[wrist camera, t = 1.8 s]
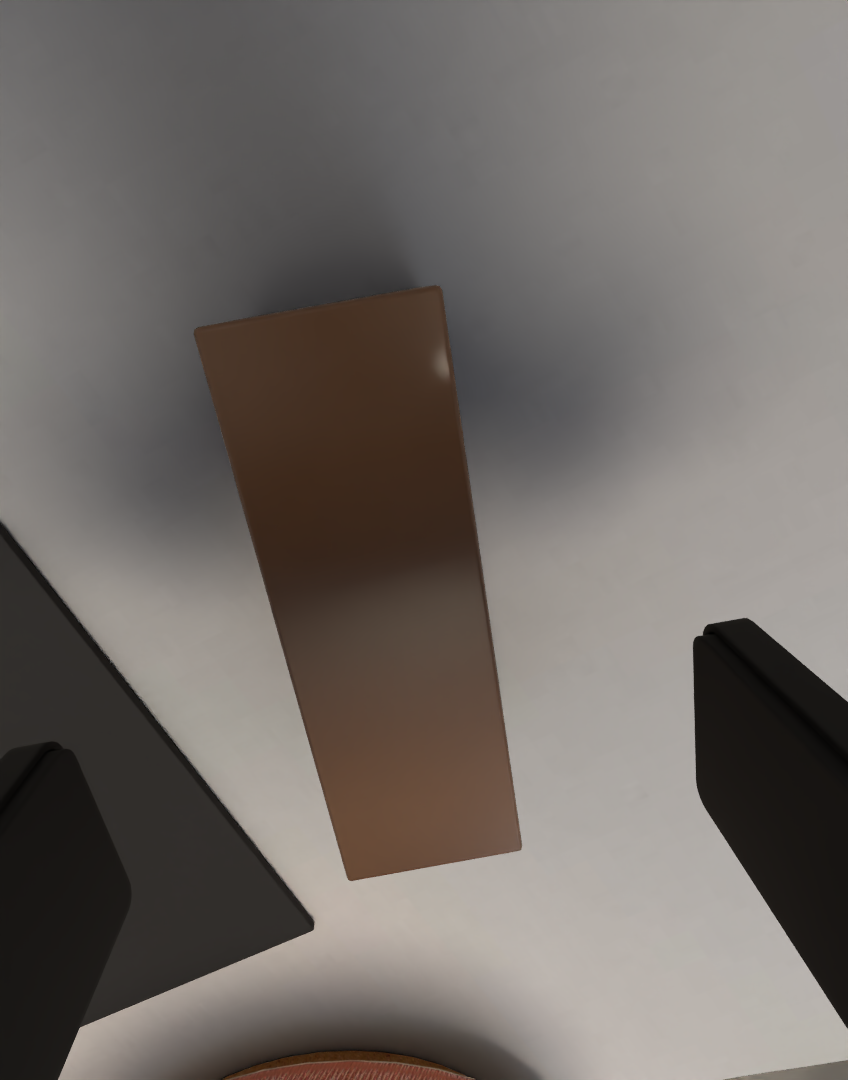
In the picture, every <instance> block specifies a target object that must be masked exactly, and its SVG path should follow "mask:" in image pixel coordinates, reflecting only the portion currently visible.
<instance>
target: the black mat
mask: <svg viewBox="0 0 848 1080" xmlns="http://www.w3.org/2000/svg"><path fill="white" fill-rule="evenodd" d="M50 741H54V742H58V743H59V744H60V745H61V746H62V747H63V749H70V750H71V751H72V752H74V754H75V756H76V758H77V760H78V762H79V765H80V767H81V769H82V772H83V774H84V776H85V779H86V781H87V783H88V785H89V788H90V790H91V792H92V795H93V797H94V799H95V802H96V804H97V806H98V809H99V811H100V813H101V816H102V818H103V820H104V823H105V825H106V827H107V829H108V832H109V834H110V836H111V839H112V841H113V843H114V846H115V848H116V850H117V853H118V855H119V857H120V860H121V862H122V864H123V866H124V869H125V871H126V873H127V876H128V878H129V881H130V884H131V890H132V897H131V904H130V908H129V911H128V913H127V916H126V918H125V921H124V923H123V925H122V928H121V930H120V932H119V935H118V937H117V940H116V942H115V944H114V947H113V949H112V952H111V954H110V956H109V959H108V961H107V963H106V966H105V968H104V971H103V973H102V975H101V978H100V980H99V983H98V985H97V987H96V990H95V992H94V994H93V997H92V999H91V1002H90V1004H89V1006H88V1009H87V1011H86V1014H85V1016H84V1018H83V1021H82V1023H81V1025H80V1027H82V1026H84V1025H87V1024H89V1023H91V1022H94V1021H96V1020H99V1019H101V1018H103V1017H106V1016H108V1015H111V1014H113V1013H116V1012H118V1011H120V1010H123V1009H125V1008H128V1007H130V1006H132V1005H135V1004H137V1003H140V1002H142V1001H144V1000H147V999H149V998H152V997H154V996H156V995H159V994H161V993H164V992H166V991H168V990H171V989H173V988H176V987H178V986H181V985H183V984H185V983H188V982H190V981H193V980H195V979H197V978H200V977H202V976H205V975H207V974H209V973H212V972H214V971H217V970H219V969H221V968H224V967H226V966H229V965H231V964H233V963H236V962H238V961H241V960H243V959H246V958H248V957H250V956H253V955H255V954H258V953H260V952H262V951H265V950H267V949H270V948H272V947H274V946H277V945H279V944H282V943H284V942H286V941H289V940H291V939H294V938H296V937H298V936H301V935H303V934H306V933H308V932H311V931H313V930H314V921H313V920H312V919H311V918H310V916H309V915H308V914H307V913H306V911H305V910H304V909H303V907H302V906H301V905H300V904H299V902H298V901H297V900H296V899H295V897H294V896H293V895H292V894H291V892H290V891H289V890H288V888H287V887H286V886H285V885H284V883H283V882H282V881H281V880H280V878H279V877H278V876H277V874H276V873H275V872H274V871H273V869H272V868H271V867H270V866H269V864H268V863H267V862H266V860H265V859H264V858H263V857H262V855H261V854H260V853H259V852H258V850H257V849H256V848H255V847H254V845H253V844H252V843H251V841H250V840H249V839H248V838H247V836H246V835H245V834H244V833H243V831H242V830H241V829H240V827H239V826H238V825H237V824H236V822H235V821H234V820H233V819H232V817H231V816H230V815H229V813H228V812H227V811H226V810H225V808H224V807H223V806H222V805H221V803H220V802H219V801H218V800H217V798H216V797H215V796H214V794H213V793H212V792H211V791H210V789H209V788H208V787H207V786H206V784H205V783H204V782H203V780H202V779H201V778H200V777H199V775H198V774H197V773H196V772H195V770H194V769H193V768H192V766H191V765H190V764H189V763H188V761H187V760H186V759H185V758H184V756H183V755H182V754H181V753H180V751H179V750H178V749H177V747H176V746H175V745H174V744H173V742H172V741H171V740H170V739H169V737H168V736H167V735H166V733H165V732H164V731H163V730H162V728H161V727H160V726H159V725H158V723H157V722H156V721H155V720H154V718H153V717H152V716H151V714H150V713H149V712H148V711H147V709H146V708H145V707H144V706H143V704H142V703H141V702H140V700H139V699H138V698H137V697H136V695H135V694H134V693H133V692H132V690H131V689H130V688H129V686H128V685H127V684H126V683H125V681H124V680H123V679H122V678H121V676H120V675H119V674H118V673H117V671H116V670H115V669H114V667H113V666H112V665H111V664H110V662H109V661H108V660H107V659H106V657H105V656H104V655H103V653H102V652H101V651H100V650H99V648H98V647H97V646H96V645H95V643H94V642H93V641H92V639H91V638H90V637H89V636H88V634H87V633H86V632H85V631H84V629H83V628H82V627H81V626H80V624H79V623H78V622H77V620H76V619H75V618H74V617H73V615H72V614H71V613H70V612H69V610H68V609H67V608H66V606H65V605H64V604H63V603H62V601H61V600H60V599H59V598H58V596H57V595H56V594H55V592H54V591H53V590H52V589H51V587H50V586H49V585H48V584H47V582H46V581H45V580H44V579H43V577H42V576H41V575H40V573H39V572H38V571H37V570H36V568H35V567H34V566H33V565H32V563H31V562H30V561H29V559H28V558H27V557H26V556H25V554H24V553H23V552H22V551H21V549H20V548H19V547H18V545H17V544H16V543H15V542H14V540H13V539H12V538H11V537H10V535H9V534H8V533H7V532H6V530H5V529H4V528H3V526H2V525H1V524H0V760H1V758H2V757H3V756H4V755H5V754H6V753H7V752H8V751H9V750H10V749H13V748H16V747H22V746H27V745H33V744H39V743H44V742H50Z"/></svg>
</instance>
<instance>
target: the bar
mask: <svg viewBox="0 0 848 1080" xmlns="http://www.w3.org/2000/svg"><path fill="white" fill-rule="evenodd" d="M194 337H195V340H196V344H197V347H198V351H199V355H200V358H201V362H202V365H203V369H204V372H205V376H206V379H207V383H208V386H209V390H210V393H211V397H212V401H213V404H214V408H215V411H216V415H217V418H218V422H219V425H220V429H221V432H222V436H223V440H224V443H225V447H226V450H227V454H228V457H229V461H230V464H231V468H232V471H233V475H234V478H235V482H236V486H237V489H238V493H239V496H240V500H241V503H242V507H243V510H244V514H245V517H246V521H247V524H248V528H249V532H250V535H251V539H252V542H253V546H254V549H255V553H256V556H257V560H258V563H259V567H260V570H261V574H262V578H263V581H264V585H265V588H266V592H267V595H268V599H269V602H270V606H271V609H272V613H273V617H274V620H275V624H276V627H277V631H278V634H279V638H280V641H281V645H282V648H283V652H284V655H285V659H286V663H287V666H288V670H289V673H290V677H291V680H292V684H293V687H294V691H295V694H296V698H297V701H298V705H299V709H300V712H301V716H302V719H303V723H304V726H305V730H306V733H307V737H308V740H309V744H310V748H311V751H312V755H313V758H314V762H315V765H316V769H317V772H318V776H319V779H320V783H321V786H322V790H323V794H324V797H325V801H326V804H327V808H328V811H329V815H330V818H331V822H332V825H333V829H334V832H335V836H336V840H337V843H338V847H339V850H340V854H341V857H342V861H343V864H344V868H345V871H346V875H347V878H348V880H349V881H354V880H359V879H365V878H370V877H376V876H382V875H387V874H393V873H398V872H404V871H409V870H415V869H420V868H426V867H432V866H437V865H443V864H448V863H454V862H459V861H465V860H470V859H476V858H481V857H487V856H493V855H498V854H504V853H509V852H515V851H519V850H521V848H522V842H521V835H520V828H519V821H518V814H517V807H516V800H515V793H514V786H513V779H512V772H511V765H510V758H509V751H508V744H507V737H506V730H505V723H504V716H503V709H502V702H501V695H500V689H499V682H498V675H497V668H496V661H495V654H494V647H493V640H492V633H491V626H490V619H489V612H488V605H487V598H486V591H485V584H484V577H483V570H482V563H481V556H480V549H479V543H478V536H477V529H476V522H475V515H474V508H473V501H472V494H471V487H470V480H469V473H468V466H467V459H466V452H465V445H464V438H463V431H462V424H461V417H460V410H459V403H458V397H457V390H456V383H455V376H454V369H453V362H452V355H451V348H450V341H449V334H448V327H447V320H446V313H445V306H444V299H443V292H442V289H441V287H440V286H437V285H433V286H425V287H418V288H412V289H406V290H401V291H395V292H389V293H384V294H378V295H372V296H367V297H361V298H355V299H350V300H344V301H338V302H333V303H327V304H322V305H316V306H310V307H305V308H299V309H293V310H288V311H282V312H276V313H271V314H265V315H259V316H254V317H248V318H243V319H238V320H233V321H228V322H223V323H217V324H212V325H207V326H202V327H198V328H196V329H195V330H194Z"/></svg>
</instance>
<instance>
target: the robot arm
mask: <svg viewBox="0 0 848 1080" xmlns="http://www.w3.org/2000/svg"><path fill="white" fill-rule="evenodd" d="M693 665H694V709H695V752H696V783H697V788H698V792H699V795H700V798H701V801H702V803H703V805H704V807H705V808H706V810H707V812H708V813H709V815H710V816H711V818H712V819H713V821H714V822H715V824H716V825H717V827H718V829H719V830H720V832H721V833H722V835H723V836H724V838H725V839H726V841H727V843H728V844H729V846H730V847H731V849H732V850H733V852H734V853H735V855H736V856H737V858H738V860H739V861H740V863H741V864H742V866H743V867H744V869H745V870H746V872H747V874H748V875H749V877H750V878H751V880H752V881H753V883H754V884H755V886H756V888H757V889H758V891H759V892H760V894H761V895H762V897H763V898H764V900H765V901H766V903H767V905H768V906H769V908H770V909H771V911H772V912H773V914H774V915H775V917H776V919H777V920H778V922H779V923H780V925H781V926H782V928H783V929H784V931H785V932H786V934H787V936H788V937H789V939H790V940H791V942H792V943H793V945H794V946H795V948H796V950H797V951H798V953H799V954H800V956H801V957H802V959H803V960H804V962H805V963H806V965H807V967H808V968H809V970H810V971H811V973H812V974H813V976H814V977H815V979H816V981H817V982H818V984H819V985H820V987H821V988H822V990H823V991H824V993H825V994H826V996H827V998H828V999H829V1001H830V1002H831V1004H832V1005H833V1007H834V1008H835V1010H836V1012H837V1013H838V1015H839V1016H840V1018H841V1019H842V1021H843V1022H844V1024H845V1025H846V1027H847V1028H848V702H847V701H846V700H845V699H843V698H842V697H841V696H840V695H839V694H838V693H836V692H835V691H834V690H833V689H832V688H830V687H829V686H828V685H827V684H826V683H825V682H823V681H822V680H821V679H820V678H819V677H818V676H816V675H815V674H814V673H813V672H812V671H810V670H809V669H808V668H807V667H806V666H805V665H803V664H802V663H801V662H800V661H799V660H798V659H796V658H795V657H794V656H793V655H792V654H790V653H789V652H788V651H787V650H786V649H785V648H783V647H782V646H781V645H780V644H779V643H777V642H776V641H775V640H774V639H773V638H772V637H770V636H769V635H768V634H767V633H766V632H765V631H763V630H762V629H761V628H760V627H759V626H757V625H756V624H755V623H754V622H753V621H751V620H750V619H748V618H742V619H736V620H731V621H725V622H720V623H714V624H708V625H707V626H706V627H705V629H704V632H703V636H697V637H696V638H695V639H694V642H693ZM131 897H132V890H131V884H130V881H129V878H128V876H127V873H126V871H125V869H124V866H123V864H122V862H121V860H120V857H119V855H118V853H117V850H116V848H115V846H114V843H113V841H112V839H111V836H110V834H109V832H108V829H107V827H106V825H105V823H104V820H103V818H102V816H101V813H100V811H99V809H98V806H97V804H96V802H95V799H94V797H93V795H92V792H91V790H90V788H89V785H88V783H87V781H86V779H85V776H84V774H83V772H82V769H81V767H80V765H79V762H78V760H77V758H76V756H75V754H74V752H72V751H71V750H70V749H63V747H62V746H61V745H60V744H59V743H58V742H54V741H50V742H44V743H39V744H33V745H27V746H22V747H16V748H13V749H10V750H9V751H8V752H7V753H6V754H5V755H4V756H3V757H2V758H1V760H0V1080H58V1078H59V1076H60V1073H61V1071H62V1068H63V1066H64V1064H65V1061H66V1059H67V1057H68V1054H69V1052H70V1049H71V1047H72V1045H73V1042H74V1040H75V1037H76V1035H77V1033H78V1030H79V1028H80V1025H81V1023H82V1021H83V1018H84V1016H85V1014H86V1011H87V1009H88V1006H89V1004H90V1002H91V999H92V997H93V994H94V992H95V990H96V987H97V985H98V983H99V980H100V978H101V975H102V973H103V971H104V968H105V966H106V963H107V961H108V959H109V956H110V954H111V952H112V949H113V947H114V944H115V942H116V940H117V937H118V935H119V932H120V930H121V928H122V925H123V923H124V921H125V918H126V916H127V913H128V911H129V908H130V904H131ZM725 1080H848V1060H847V1061H840V1062H834V1063H827V1064H821V1065H814V1066H807V1067H801V1068H794V1069H787V1070H781V1071H774V1072H768V1073H761V1074H754V1075H748V1076H742V1077H736V1078H730V1079H725Z"/></svg>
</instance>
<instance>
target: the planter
mask: <svg viewBox="0 0 848 1080" xmlns="http://www.w3.org/2000/svg"><path fill="white" fill-rule="evenodd" d="M222 1080H476V1079H473V1078H470V1077H467V1076H465V1075H464V1074H461V1073H459V1072H457V1071H454V1070H452V1069H449V1068H447V1067H445V1066H442V1065H440V1064H437V1063H433V1062H429V1061H426V1060H422V1059H419V1058H415V1057H411V1056H405V1055H398V1054H392V1053H386V1052H372V1051H352V1050H350V1051H331V1052H316V1053H310V1054H303V1055H297V1056H291V1057H285V1058H281V1059H278V1060H274V1061H270V1062H266V1063H263V1064H259V1065H255V1066H253V1067H250V1068H247V1069H245V1070H242V1071H240V1072H237V1073H235V1074H232V1075H230V1076H227V1077H225V1078H223V1079H222Z"/></svg>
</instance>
